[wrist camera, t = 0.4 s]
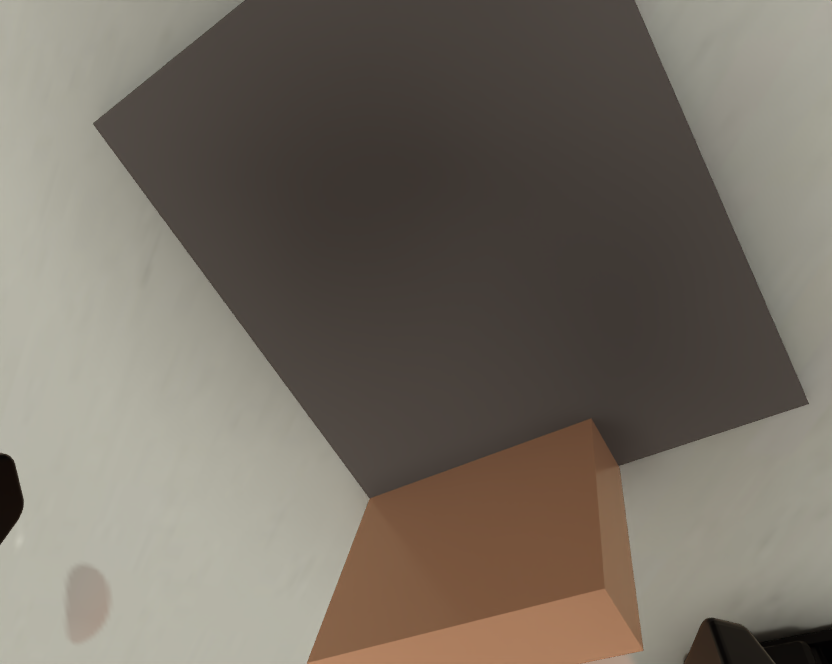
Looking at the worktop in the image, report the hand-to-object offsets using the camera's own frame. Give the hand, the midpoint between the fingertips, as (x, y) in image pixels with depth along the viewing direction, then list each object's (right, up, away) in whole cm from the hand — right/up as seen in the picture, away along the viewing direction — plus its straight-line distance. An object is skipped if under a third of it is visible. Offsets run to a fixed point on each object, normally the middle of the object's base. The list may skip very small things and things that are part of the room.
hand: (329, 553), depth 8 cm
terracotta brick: (+4, -3, +15) cm, 16 cm away
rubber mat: (+2, +5, +12) cm, 13 cm away
